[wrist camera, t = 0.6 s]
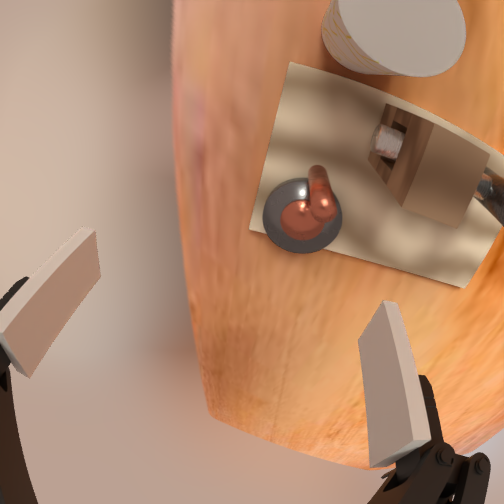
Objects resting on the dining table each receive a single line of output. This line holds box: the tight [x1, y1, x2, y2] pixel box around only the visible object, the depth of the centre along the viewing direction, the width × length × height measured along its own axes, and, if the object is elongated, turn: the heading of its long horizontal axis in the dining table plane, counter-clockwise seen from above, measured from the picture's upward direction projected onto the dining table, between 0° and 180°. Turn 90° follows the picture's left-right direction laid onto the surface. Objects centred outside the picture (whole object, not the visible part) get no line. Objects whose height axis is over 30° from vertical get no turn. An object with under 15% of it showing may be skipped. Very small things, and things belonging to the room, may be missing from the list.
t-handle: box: [370, 124, 504, 227], centre depth 21 cm, size 4×15×10 cm, turn 78°
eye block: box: [249, 62, 504, 289], centre depth 24 cm, size 18×30×12 cm, turn 78°
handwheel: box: [262, 165, 342, 253], centre depth 26 cm, size 10×8×9 cm
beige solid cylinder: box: [321, 0, 466, 77], centre depth 16 cm, size 8×8×12 cm
